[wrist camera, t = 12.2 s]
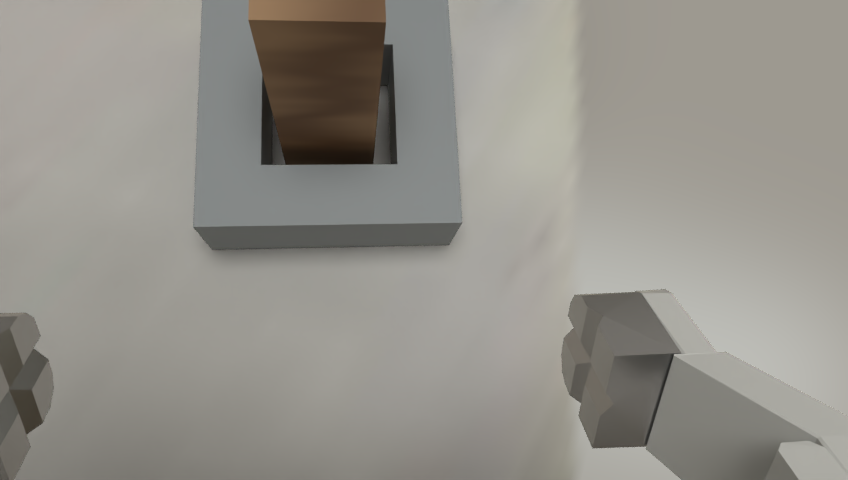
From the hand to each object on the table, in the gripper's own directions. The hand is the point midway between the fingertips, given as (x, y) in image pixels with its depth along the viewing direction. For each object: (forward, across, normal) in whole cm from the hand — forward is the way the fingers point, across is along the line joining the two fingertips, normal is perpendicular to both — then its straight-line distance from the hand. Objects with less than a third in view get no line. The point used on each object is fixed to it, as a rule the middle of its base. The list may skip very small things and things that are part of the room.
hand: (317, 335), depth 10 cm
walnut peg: (+20, 0, +5) cm, 20 cm away
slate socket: (+20, 0, +5) cm, 20 cm away
